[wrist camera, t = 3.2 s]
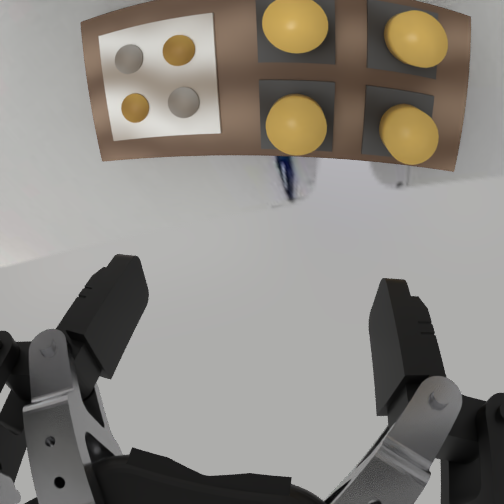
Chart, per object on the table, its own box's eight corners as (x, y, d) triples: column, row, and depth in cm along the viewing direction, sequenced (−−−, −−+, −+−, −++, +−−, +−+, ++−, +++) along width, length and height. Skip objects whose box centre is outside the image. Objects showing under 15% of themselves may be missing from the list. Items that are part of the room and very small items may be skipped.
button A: (264, 0, 16) (260, -5, 15) (325, 1, 16) (327, -4, 14) (266, 52, 19) (263, 53, 17) (326, 54, 18) (328, 55, 16)
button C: (383, 7, 15) (391, 4, 14) (436, 19, 15) (448, 18, 13) (383, 60, 17) (390, 62, 16) (435, 69, 17) (446, 73, 15)
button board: (98, 21, 21) (77, 22, 19) (455, 17, 17) (473, 16, 14) (117, 150, 30) (99, 163, 27) (441, 159, 25) (456, 173, 23)
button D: (381, 100, 19) (388, 105, 18) (431, 108, 19) (442, 114, 17) (376, 152, 22) (382, 161, 20) (424, 157, 21) (433, 167, 20)
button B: (267, 93, 20) (264, 97, 19) (325, 95, 20) (327, 99, 18) (269, 145, 23) (266, 154, 21) (323, 147, 22) (325, 156, 21)
